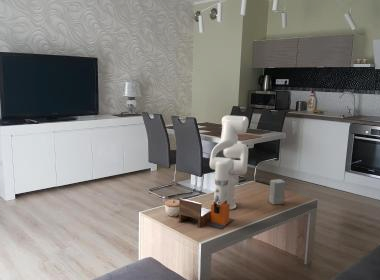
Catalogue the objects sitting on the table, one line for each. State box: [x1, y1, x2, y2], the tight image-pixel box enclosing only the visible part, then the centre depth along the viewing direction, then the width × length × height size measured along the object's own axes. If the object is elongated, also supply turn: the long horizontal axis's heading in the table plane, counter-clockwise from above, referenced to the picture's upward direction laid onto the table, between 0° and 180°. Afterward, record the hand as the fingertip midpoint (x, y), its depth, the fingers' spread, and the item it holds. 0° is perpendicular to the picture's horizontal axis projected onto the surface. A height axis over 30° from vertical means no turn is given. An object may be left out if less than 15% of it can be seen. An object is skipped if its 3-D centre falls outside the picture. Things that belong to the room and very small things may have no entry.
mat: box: [205, 217, 234, 230], centre depth 211 cm, size 16×10×1 cm, turn 148°
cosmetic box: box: [268, 178, 286, 206], centre depth 245 cm, size 8×7×16 cm
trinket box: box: [164, 199, 179, 217], centre depth 220 cm, size 11×11×9 cm
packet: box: [210, 202, 231, 226], centre depth 210 cm, size 6×9×11 cm, turn 58°
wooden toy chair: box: [178, 197, 211, 228], centre depth 211 cm, size 14×14×14 cm
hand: (220, 210), depth 210 cm, fingers open, 9 cm apart
